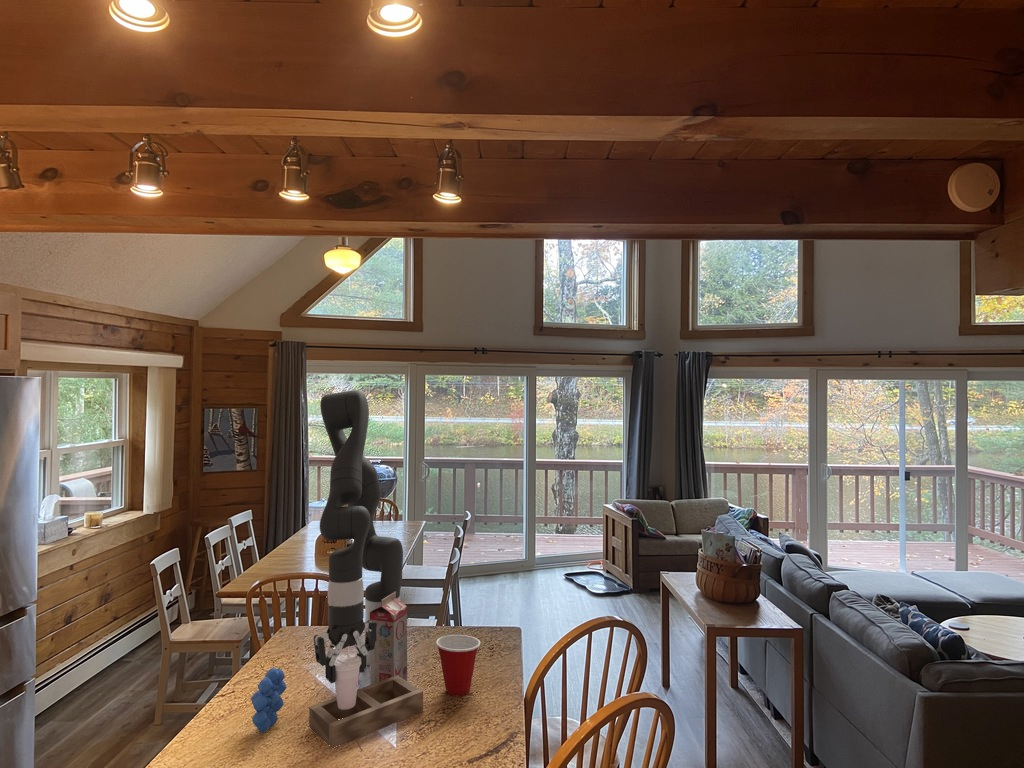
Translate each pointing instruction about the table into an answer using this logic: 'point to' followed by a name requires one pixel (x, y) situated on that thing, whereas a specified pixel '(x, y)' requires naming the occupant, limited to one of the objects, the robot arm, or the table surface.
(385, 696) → the slot rack
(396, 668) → the juice carton
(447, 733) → the table surface
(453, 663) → the plastic cup
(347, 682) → the smoothie
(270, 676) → the grapes
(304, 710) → the table surface
